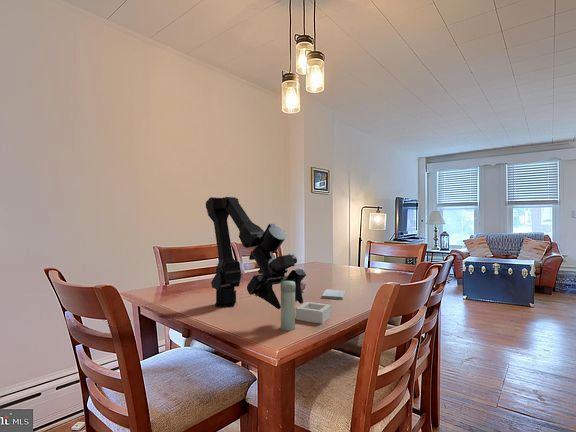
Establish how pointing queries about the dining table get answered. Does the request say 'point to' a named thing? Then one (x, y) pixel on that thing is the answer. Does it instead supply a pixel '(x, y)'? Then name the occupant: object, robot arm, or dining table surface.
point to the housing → (314, 312)
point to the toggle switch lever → (288, 305)
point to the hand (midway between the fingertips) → (291, 305)
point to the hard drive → (333, 294)
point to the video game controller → (302, 287)
